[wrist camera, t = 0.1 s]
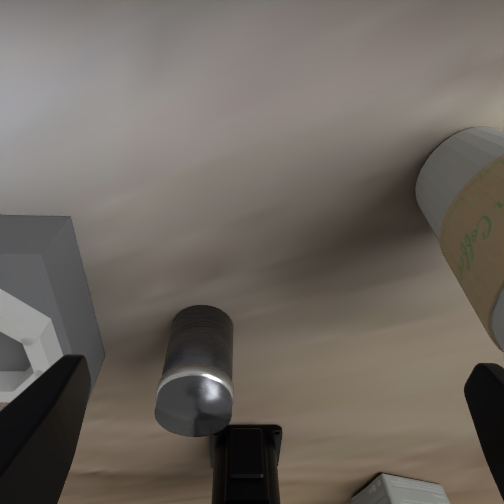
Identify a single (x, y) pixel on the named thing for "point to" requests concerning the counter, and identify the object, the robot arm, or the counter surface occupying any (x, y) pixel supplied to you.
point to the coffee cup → (470, 217)
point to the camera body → (42, 302)
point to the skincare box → (400, 492)
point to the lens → (197, 374)
